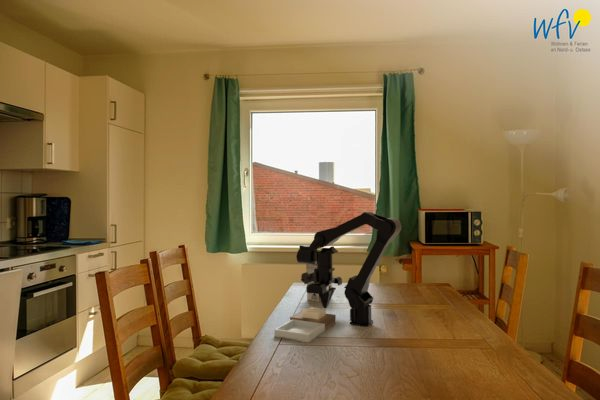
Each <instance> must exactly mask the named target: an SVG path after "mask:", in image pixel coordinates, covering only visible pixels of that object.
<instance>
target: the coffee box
mask: <svg viewBox="0 0 600 400" xmlns="http://www.w3.org/2000/svg"><path fill="white" fill-rule="evenodd" d="M305 265H306V272H307V273H308V274H310V273H313V272H314V269H315V268H317V261H316V262H315V263H314V264H305ZM311 283H314V281H313V282H309V283H307V284H306V287H307V286H308V285H309V284H311ZM306 299H307V301H311V300H312V302H318V303H319V302H321V299H320V296H319V294H314V293H307V292H306Z"/></svg>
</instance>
